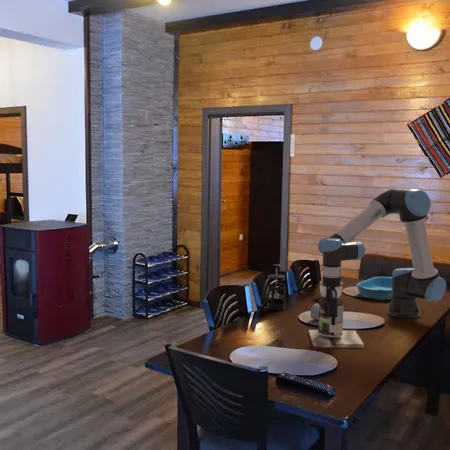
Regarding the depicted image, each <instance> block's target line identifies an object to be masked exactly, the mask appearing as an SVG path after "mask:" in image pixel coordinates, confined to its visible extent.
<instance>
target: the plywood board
mask: <svg viewBox="0 0 450 450" xmlns="http://www.w3.org/2000/svg"><path fill="white" fill-rule="evenodd" d="M308 335H309V337H310V340H311V343H312V346H313V348H339V349H340V348H352V349H355V348H359V349H364V347H365V344H364V342H363V340H362V339H361V337H360V336H359V334H358V333H357V331H356V330H351V329H350V330H345V329H343V335H342V336H339V337H326V336H322V335H320V334H319V333H318V329H308Z"/></svg>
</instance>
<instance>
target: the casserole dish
mask: <svg viewBox="0 0 450 450" xmlns="http://www.w3.org/2000/svg"><path fill="white" fill-rule="evenodd" d="M356 287H357V290H358V293H359V295H360V296H361V297H363V298H368V299H374V300H380V301H389V300H390V301H391V299H392V276H374V277H371V278H368V279H366V280H363V281H360V282H358V283H356Z"/></svg>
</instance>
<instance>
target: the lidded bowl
mask: <svg viewBox="0 0 450 450" xmlns="http://www.w3.org/2000/svg"><path fill="white" fill-rule="evenodd" d="M335 289H336V291H337V299H339V298H340V297H341V295H342V292H343V282H342V281H341V285H340V286H338V287H335ZM319 290H320V291H319V292H320V295H321V296H322V298H326V286H324V285H323V284H322V280H320V281H319Z"/></svg>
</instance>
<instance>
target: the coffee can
mask: <svg viewBox="0 0 450 450" xmlns="http://www.w3.org/2000/svg"><path fill="white" fill-rule="evenodd" d="M318 304H319V321H318V329H317V330H318V333H319V334H320V335H322V336H326V337H339V336H342V335H343V330H344V304H345V301H344V300H343V299H341V298H337V315H338V316H337V317H336V333H335V332H329V318H330V317H328V316H329V315H330V306H331V304H330V303H329V301H328V299H327V298H324V297H322V298H320V299H318ZM333 314H335V313H333Z"/></svg>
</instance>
